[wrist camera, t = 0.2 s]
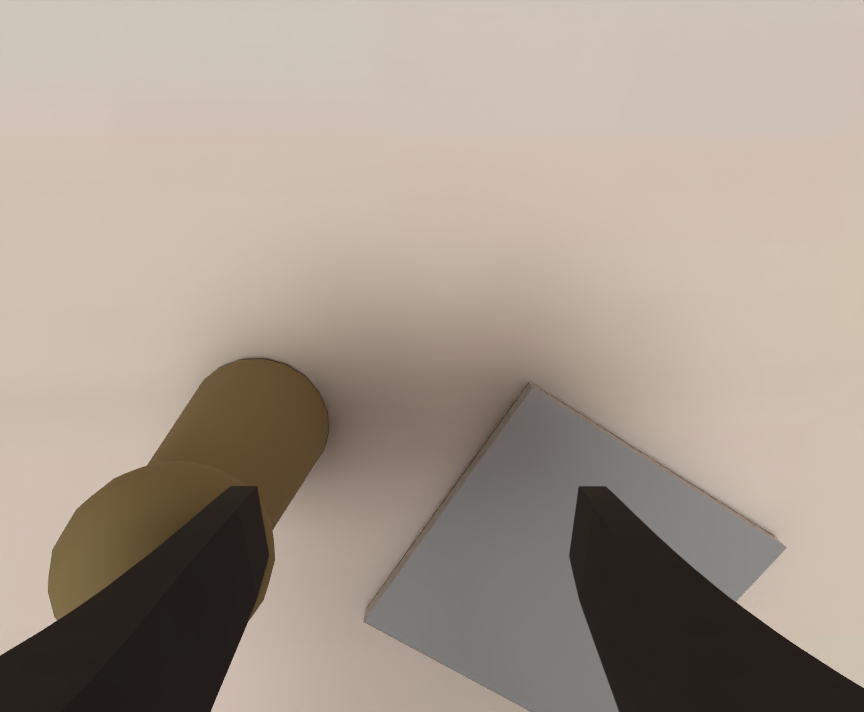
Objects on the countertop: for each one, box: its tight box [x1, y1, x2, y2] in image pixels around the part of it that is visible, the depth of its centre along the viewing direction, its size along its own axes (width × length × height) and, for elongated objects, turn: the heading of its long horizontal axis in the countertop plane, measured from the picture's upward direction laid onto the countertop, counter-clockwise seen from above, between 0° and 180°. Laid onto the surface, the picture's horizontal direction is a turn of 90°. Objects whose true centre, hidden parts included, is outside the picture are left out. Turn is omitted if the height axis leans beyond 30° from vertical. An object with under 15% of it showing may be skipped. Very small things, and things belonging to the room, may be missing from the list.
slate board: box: [364, 382, 787, 712], centre depth 23 cm, size 14×14×1 cm
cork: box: [48, 359, 329, 621], centre depth 17 cm, size 6×6×11 cm
